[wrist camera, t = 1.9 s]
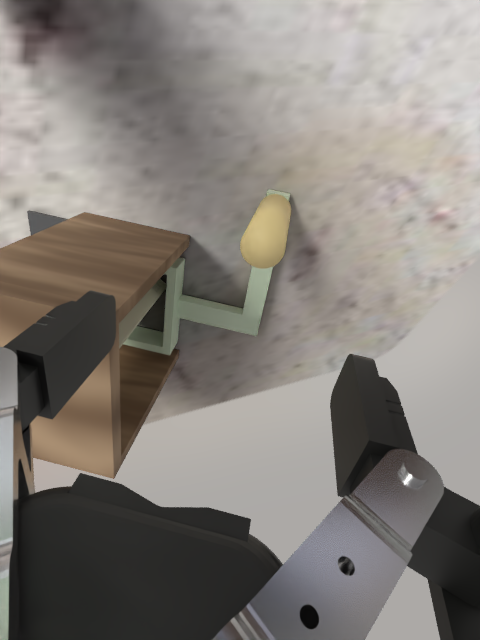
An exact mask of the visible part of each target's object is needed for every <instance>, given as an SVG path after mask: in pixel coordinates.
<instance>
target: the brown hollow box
mask: <svg viewBox="0 0 480 640" xmlns="http://www.w3.org/2000/svg"><path fill="white" fill-rule="evenodd" d="M189 241H190V236H189V235H185V234H180V233H176V232H171V231H167V230H162V229H158V228H153V227H149V226H144V225H140V224H135V223H131V222H126V221H122V220H117V219H113V218H108V217H104V216H99V215H94V214H90V213H85V212H84V213H82V214H79V215H77V216H75V217H72V218H70V219H68V220H66V221H63V222H61V223H59V224H56V225H54V226H52V227H49V228H47V229H45V230H42V231H40V232H38V233H35V234H33V235H31V236H29V237H26V238H24V239H22V240H19V241H17V242H15V243H12V244H10V245H8V246H5V247H3V248H1V249H0V347H4V346H5V345H6V344H8V343H9V342H10V341H11V340H13V339H14V338H15V337H17V336H18V335H19V334H21V333H22V332H23V331H25V330H26V329H27V328H29V327H30V326H31V325H33V324H34V323H35V324H36V322H37V321H38V320H39V319H40V318H42V317H43V316H44V317H45V315H46V314H47V313H48V312H50V311H51V310H52V309H54V308H55V307H56V306H59V305H61V304H64V303H67V302H69V301H77V300H78V299H79V298H81V297H82V296H83V295H84V294H86V293H87V292H88V291H90V290H92V291H96V292H100V293H105V294H109V295H113V296H114V297H115V301H116V338H115V342H114V345H113V347H112V349H111V350H110V352H109V353H108V354H107V355H106V356H105V358H104V359H103V360H102V361H101V362H100V364H99V365H98V366H97V367H96V368H95V370H94V371H93V372H92V373H91V374H90V375H89V377H88V378H87V379H86V380H85V381H84V383H83V384H82V385H81V386H80V387H79V389H78V390H77V391H76V392H75V393H74V395H73V396H72V397H71V398H70V399H69V401H68V402H67V403H66V404H65V405H64V406H63V408H62V409H61V410H60V411H59V412H58V414H57V415H56V416H55V417H54V418H53V420H52V419H48V418H45V417H41V416H36V418H35V419H34V420H33V421H32V422H31V423H30V424H31V429H32V450H33V458H37V459H41V460H45V461H48V462H52V463H56V464H60V465H64V466H67V467H71V468H75V469H79V470H83V471H87V472H90V473H94V474H98V475H102V476H106V477H109V478H113V479H114V478H115V476H116V474H117V472H118V470H119V468H120V466H121V465H122V463H123V461H124V459H125V457H126V455H127V453H128V451H129V450H130V448H131V446H132V444H133V442H134V440H135V438H136V436H137V434H138V432H139V431H140V429H141V427H142V425H143V423H144V421H145V419H146V418H147V416H148V414H149V412H150V410H151V408H152V406H153V404H154V402H155V401H156V399H157V397H158V395H159V393H160V391H161V389H162V387H163V385H164V384H165V382H166V380H167V378H168V376H169V374H170V372H171V370H172V368H173V367H174V365H175V363H176V361H177V359H178V357H179V350H177V349H173V351H172V353H171V354H170V355H166V354H162V353H157V352H153V351H149V350H145V349H141V348H137V347H133V346H128V345H124V344H123V345H122V346H121V347H120V349H119V323H120V322H121V321H122V320H123V319H124V318H125V316H126V315H127V314H128V313H129V312H130V311H131V310H132V309H133V308H134V307H135V305H136V304H137V303H138V302H139V301H140V300H141V299H142V298H143V297H144V295H145V294H146V293H147V292H148V291H149V290H150V289H151V288H152V287H153V285H154V284H155V283H156V282H157V281H158V280H159V279H160V278H161V277H162V276H163V274H164V273H165V272H166V271H167V270H168V269H169V268H170V267H171V266H172V264H173V263H174V262H175V261H176V260H177V259H178V258H179V257H180V256H181V254H182V253H183V252H184V251H185V250H186V249H187V248H188V247H189Z"/></svg>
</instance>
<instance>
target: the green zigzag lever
mask: <svg viewBox="0 0 480 640" xmlns="http://www.w3.org/2000/svg"><path fill="white" fill-rule="evenodd" d="M289 197H290V194H289V193H284V192H280V191H275V190H270V189H268V191H267V194H266V197H265V198H264V199H263V200H262V201H261V203H260V204H259V206H258V208H257V210H256V212H255V214H254V216H253V218H252V220H251V221H250V223H249V225H248V227H247V229H246V231H245V233H244V235H243V237H242V239H241V243H240V250H241V254H242V256H243V258H244V259H245V260H246V262H248V263H249V264H250V265H252V269H251V274H250V279H249V284H248V289H247V294H246V299H245V304H244V309H243V308H238V307H234V306H230V305H225V304H221V303H217V302H212V301H208V300H204V299H199V298H195V297H191V296H186V295H182V288H183V277H184V266H185V258H180V257H179V258H178V259H177V260H176V261H175V262H174V263H173V264H172V266H171V267H170V268H169V269H168V270H167V271H166V272H165V273H164V274H165V275H167V286H166V302H165V318H164V332H160V331H156V330H152V329H148V328H143V327H139V326H136V328H135V329H134V330H133V332H132V333H131V334H130V336H129V337H128V338H127V339H126V341H125V342H124V343H123V344H124V345H128V346H133V347H137V348H141V349H145V350H149V351H153V352H157V353H162V354H166V355H170V354H171V353H172V351H173V349H174V347H175V346H176V344H177V342H178V332H179V321H180V318H181V319H185V320H189V321H194V322H198V323H202V324H206V325H211V326H215V327H219V328H223V329H228V330H232V331H236V332H240V333H245V334H249V335H253V336H257V333H258V329H259V325H260V320H261V316H262V312H263V308H264V303H265V299H266V295H267V291H268V286H269V282H270V278H271V274H272V269H273V266H275V265H276V264H278V263H279V262H280V261H281V259H282V258H283V256H284V253H285V248H286V241H287V235H288V228H289V222H290V216H291V206H290V203H289Z"/></svg>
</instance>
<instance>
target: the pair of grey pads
mask: <svg viewBox="0 0 480 640" xmlns="http://www.w3.org/2000/svg"><path fill="white" fill-rule="evenodd" d="M27 212H28V219H29V225H30V232H31V235H33V234H35V233H38V232H40V231H42V230H45V229H47V228H49V227H52V226H54V225H56V224H59V223H61V222H63V221H66V220H68V219H65V218H60V217H56V216H51V215H47V214H42V213H38V212H33V211H27Z"/></svg>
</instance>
